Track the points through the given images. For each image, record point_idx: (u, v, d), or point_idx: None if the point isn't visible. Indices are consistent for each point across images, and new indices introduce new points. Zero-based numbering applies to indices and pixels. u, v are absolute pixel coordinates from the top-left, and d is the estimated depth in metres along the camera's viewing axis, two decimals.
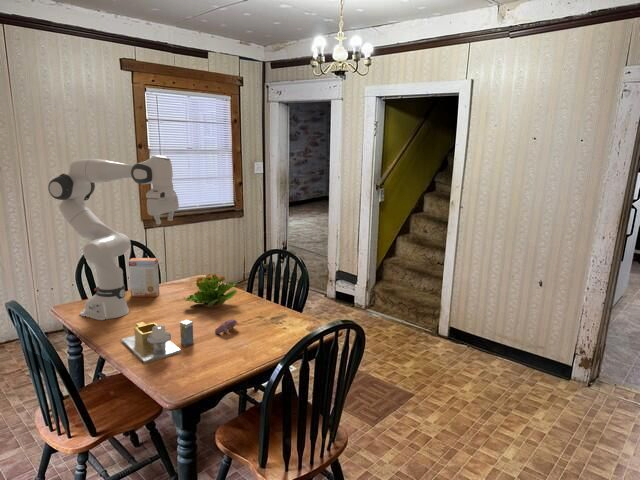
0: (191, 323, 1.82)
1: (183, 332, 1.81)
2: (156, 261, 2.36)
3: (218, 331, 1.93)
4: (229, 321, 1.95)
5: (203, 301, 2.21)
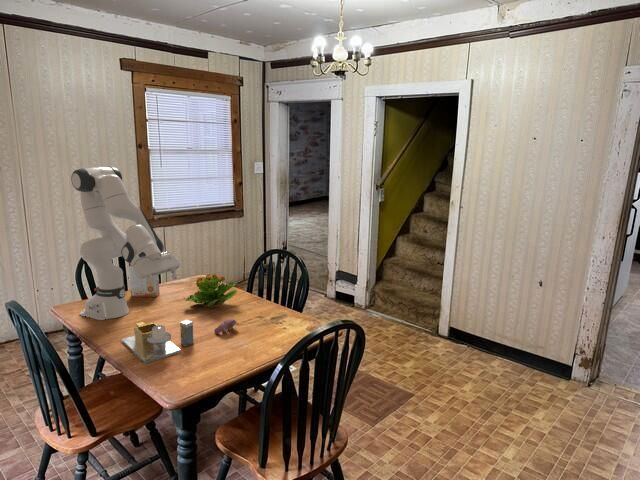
0: (191, 323, 1.82)
1: (183, 332, 1.81)
2: None
3: (217, 331, 1.93)
4: (228, 321, 1.95)
5: (203, 301, 2.21)
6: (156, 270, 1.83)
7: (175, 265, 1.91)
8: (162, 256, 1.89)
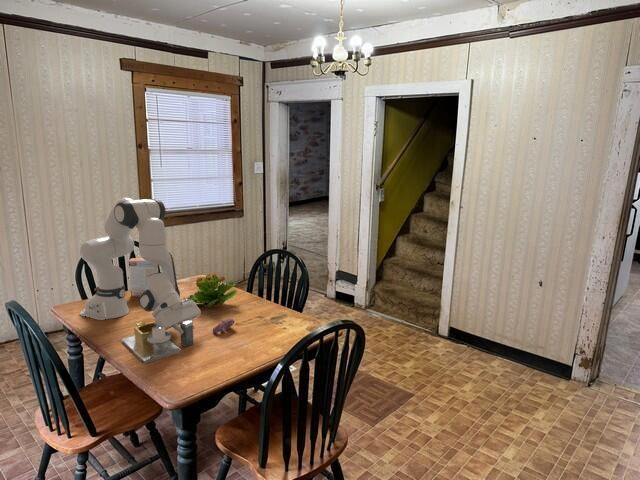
0: (191, 323, 1.82)
1: None
2: None
3: (215, 330, 1.93)
4: (226, 320, 1.95)
5: (203, 301, 2.21)
6: (178, 320, 1.80)
7: (196, 313, 1.88)
8: (183, 305, 1.87)
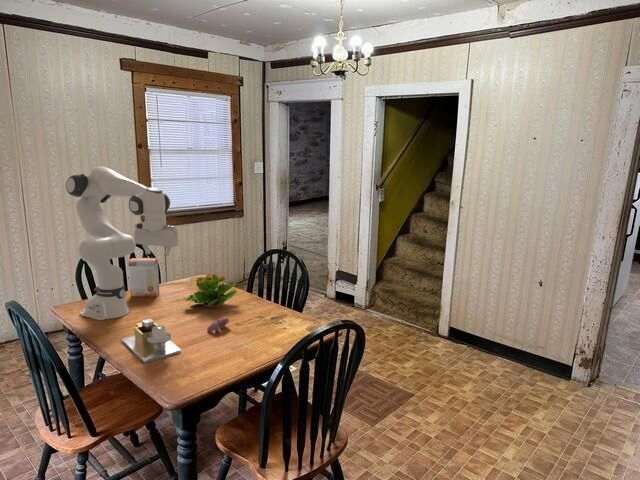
0: (152, 322, 1.78)
1: (143, 331, 1.79)
2: (156, 261, 2.36)
3: (210, 329, 1.95)
4: (221, 319, 1.96)
5: (203, 301, 2.21)
6: (149, 243, 1.92)
7: (169, 245, 1.90)
8: (161, 232, 1.89)
